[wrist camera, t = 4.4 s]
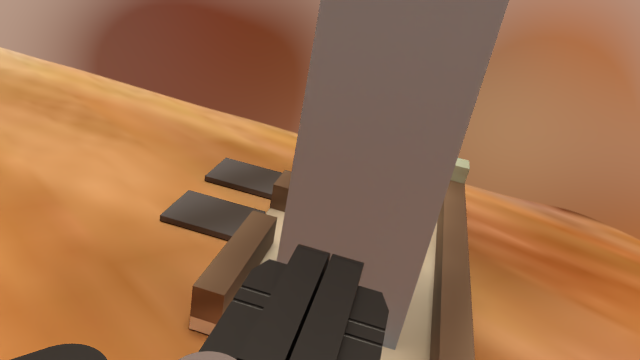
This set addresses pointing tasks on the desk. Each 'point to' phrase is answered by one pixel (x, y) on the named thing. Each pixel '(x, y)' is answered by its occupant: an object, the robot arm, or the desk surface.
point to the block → (385, 133)
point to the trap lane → (263, 243)
